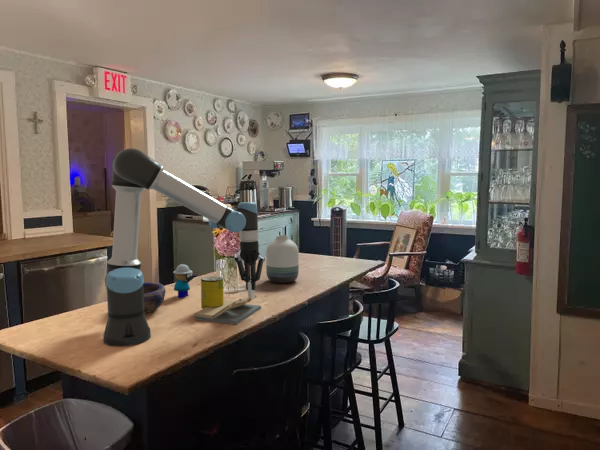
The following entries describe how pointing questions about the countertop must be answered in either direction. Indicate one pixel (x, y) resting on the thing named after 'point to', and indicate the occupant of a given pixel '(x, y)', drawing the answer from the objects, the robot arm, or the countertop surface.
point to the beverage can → (212, 292)
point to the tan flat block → (227, 308)
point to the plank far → (244, 301)
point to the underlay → (227, 313)
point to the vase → (282, 260)
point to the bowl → (153, 296)
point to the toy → (183, 280)
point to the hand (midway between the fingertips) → (251, 297)
